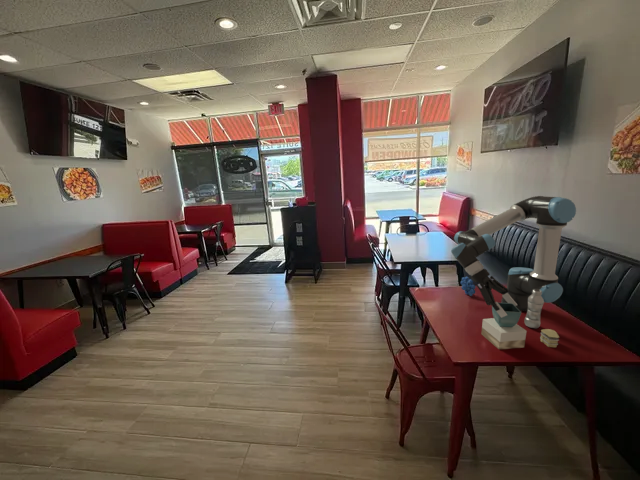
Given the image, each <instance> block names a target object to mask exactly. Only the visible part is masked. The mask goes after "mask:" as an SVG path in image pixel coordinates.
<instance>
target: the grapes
mask: <svg viewBox="0 0 640 480" xmlns="http://www.w3.org/2000/svg"><path fill="white" fill-rule="evenodd" d="M460 285H461V291H464V294H465V295H467V296H468V295H469V296H470V297H472V296H474V295H475V294H476V290H475V289H476V285H475V284H474V280H473V279H472V278H470V277H468V276H465V277H464V276H463V277H461V281H460Z"/></svg>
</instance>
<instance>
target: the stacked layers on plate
mask: <svg viewBox="0 0 640 480" xmlns="http://www.w3.org/2000/svg"><path fill="white" fill-rule="evenodd" d="M540 331H541V332H540V336H539V339H540V340H539V341H540V342H541V343H543V344H544V345H546V347H547V348H557V346H558V345H559V343H558V341H560V339H559V338H560V336H559V334H558V332H556V331H555V329H551V328H550V329H549V328H545V329H541V330H540Z"/></svg>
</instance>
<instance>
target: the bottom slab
mask: <svg viewBox="0 0 640 480" xmlns="http://www.w3.org/2000/svg"><path fill="white" fill-rule="evenodd" d="M481 335H482V336H483V338H485V339H486V340H487V341H488V342H490V343H491V344H492V345H493V346H494V347H495V348H497V349H498V350H509V349H521V348H525V345H526V339H525V340H516V341H505V342H499V341H498V340H497V339H496V338H495V337H493V336H492V335H491V334H490V333H488V332H487V331H486V330H485V329H483V328H482V327H481Z"/></svg>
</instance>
